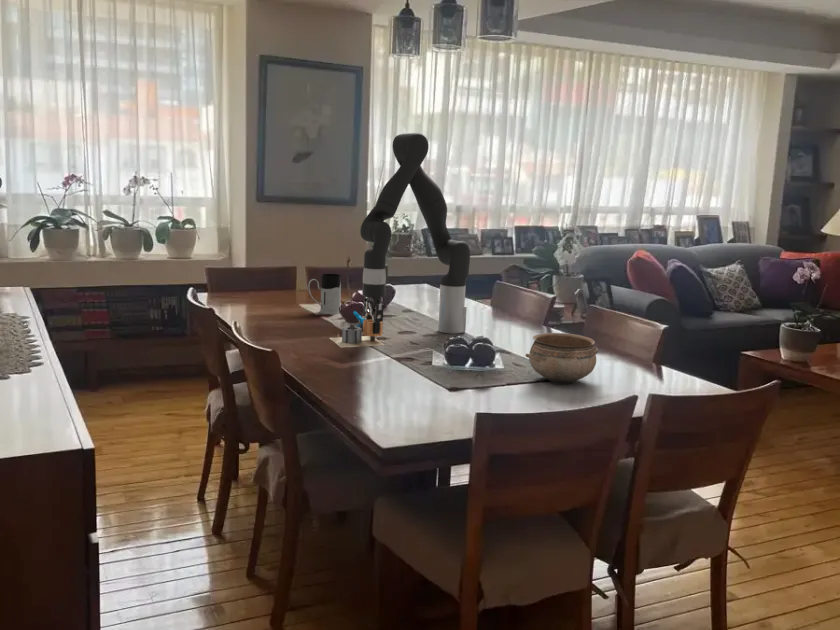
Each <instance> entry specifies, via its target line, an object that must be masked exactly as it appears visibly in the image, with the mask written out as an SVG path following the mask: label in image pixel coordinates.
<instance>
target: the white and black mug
mask: <svg viewBox="0 0 840 630" xmlns="http://www.w3.org/2000/svg"><path fill="white" fill-rule="evenodd" d="M313 281H315V282H317V283H316V284H317V288H318V290H320V302H319V301H317V300H316V299H315V298H314V297H313V295H312V292H311V286H310V285H311V282H313ZM341 287H342V283H341V274H339V273H322V274H321V286H320V282H319V281H318V280H317V279H315V278H312V279H310V280H309V282H308V287H307V290H308V293H309V295H310V297H311V298H312V300H314V301H315V302H316V303H317V304H318V305H319V306H320V309H319V313H320V314H323V315H339V314H340V313H339V306H340V307H341V301H342V300H341V298H342V297H341V293H342V290H341Z"/></svg>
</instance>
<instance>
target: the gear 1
mask: <svg viewBox="0 0 840 630" xmlns="http://www.w3.org/2000/svg"><path fill="white" fill-rule="evenodd" d="M362 336H363V327H362V326H360V327H356V326H355V329H354V330H353V329H350V326H344V327H342V328H341V337H342V342H343V343H349V344H355V343H356V344H358V343H360V342H362Z"/></svg>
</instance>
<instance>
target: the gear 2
mask: <svg viewBox="0 0 840 630" xmlns="http://www.w3.org/2000/svg"><path fill="white" fill-rule="evenodd" d="M383 321H384V320H383ZM383 321H382V322H380V333H379V334H373V320H372V319H368V320H366V319H365V320H364V321H363V326H362V336H374V337H375V338H376V337H381V336H382V335H383V324H384V322H383Z"/></svg>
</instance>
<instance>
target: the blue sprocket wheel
mask: <svg viewBox="0 0 840 630" xmlns="http://www.w3.org/2000/svg"><path fill="white" fill-rule="evenodd" d="M352 313H353V315H354V317H356V319H357V320H358V321H359V322H358V324H357V325H356V326H355V327H363V321H364V320H366V318H365V317H362V315H360V314H359V313H358V312H357V311H356V310H353V312H352Z"/></svg>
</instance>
